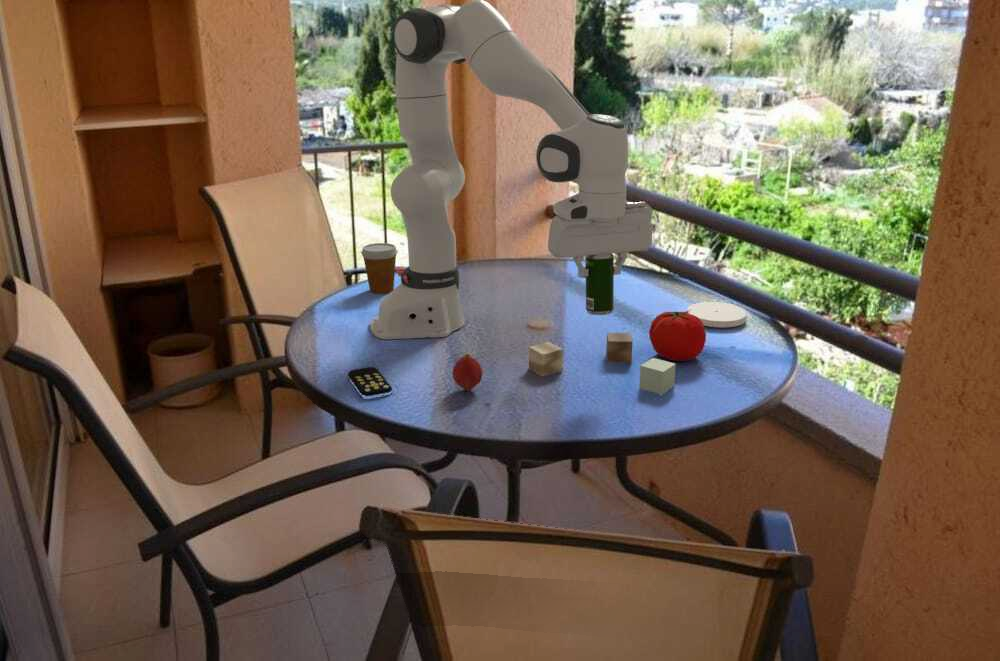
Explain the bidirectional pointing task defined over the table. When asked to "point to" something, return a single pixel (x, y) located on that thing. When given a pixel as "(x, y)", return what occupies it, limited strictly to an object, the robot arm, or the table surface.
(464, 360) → the onion
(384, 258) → the disposable coffee cup
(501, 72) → the robot arm
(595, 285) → the beer can
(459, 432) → the table surface
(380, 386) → the remote control
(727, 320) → the plastic lid
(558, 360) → the beech block
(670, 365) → the sage painted block
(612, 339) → the walnut block
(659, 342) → the tomato
